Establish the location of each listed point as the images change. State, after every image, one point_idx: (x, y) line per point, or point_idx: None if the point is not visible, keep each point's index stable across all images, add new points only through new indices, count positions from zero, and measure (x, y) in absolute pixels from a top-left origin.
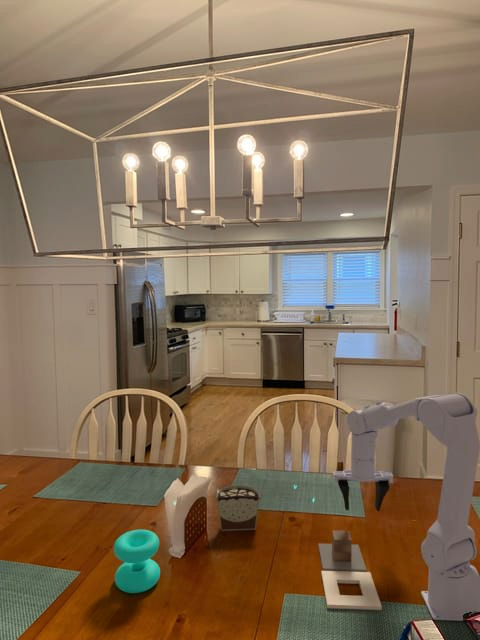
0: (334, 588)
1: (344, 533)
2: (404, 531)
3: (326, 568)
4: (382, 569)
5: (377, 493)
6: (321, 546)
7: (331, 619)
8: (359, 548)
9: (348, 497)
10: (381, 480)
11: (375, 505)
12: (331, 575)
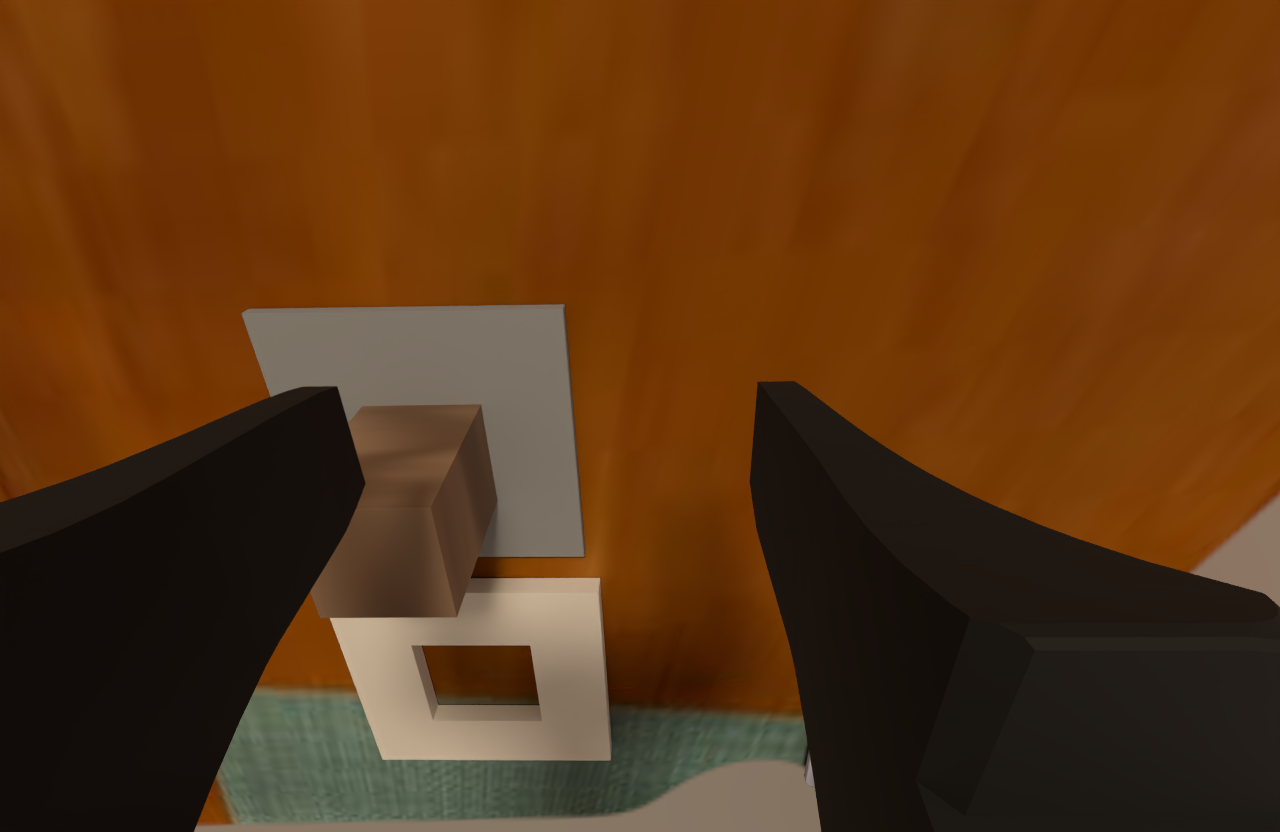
0: (405, 690)
1: (393, 546)
2: (1086, 9)
3: None
4: (684, 530)
5: (819, 629)
6: (274, 349)
7: (410, 779)
8: (566, 358)
9: (253, 687)
10: None
11: (760, 407)
12: (381, 622)
